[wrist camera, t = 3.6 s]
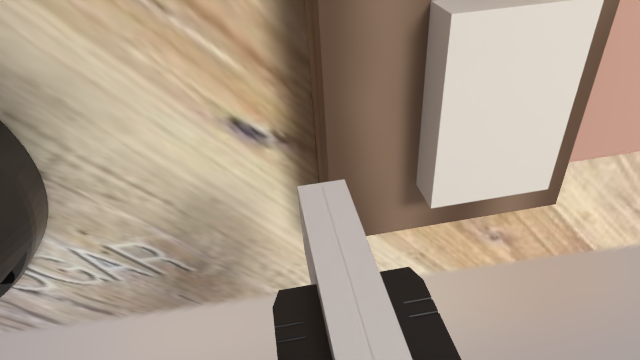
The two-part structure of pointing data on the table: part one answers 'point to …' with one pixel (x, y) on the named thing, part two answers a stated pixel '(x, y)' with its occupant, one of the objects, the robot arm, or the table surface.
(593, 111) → the mat
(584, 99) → the serving board
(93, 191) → the table surface
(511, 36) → the tile
